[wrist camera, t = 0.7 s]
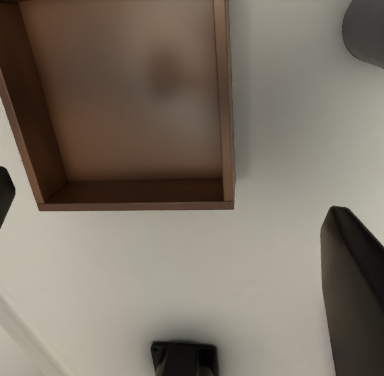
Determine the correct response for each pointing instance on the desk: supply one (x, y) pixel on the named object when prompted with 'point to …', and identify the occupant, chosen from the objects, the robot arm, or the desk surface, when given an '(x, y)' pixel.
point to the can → (365, 31)
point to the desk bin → (121, 102)
